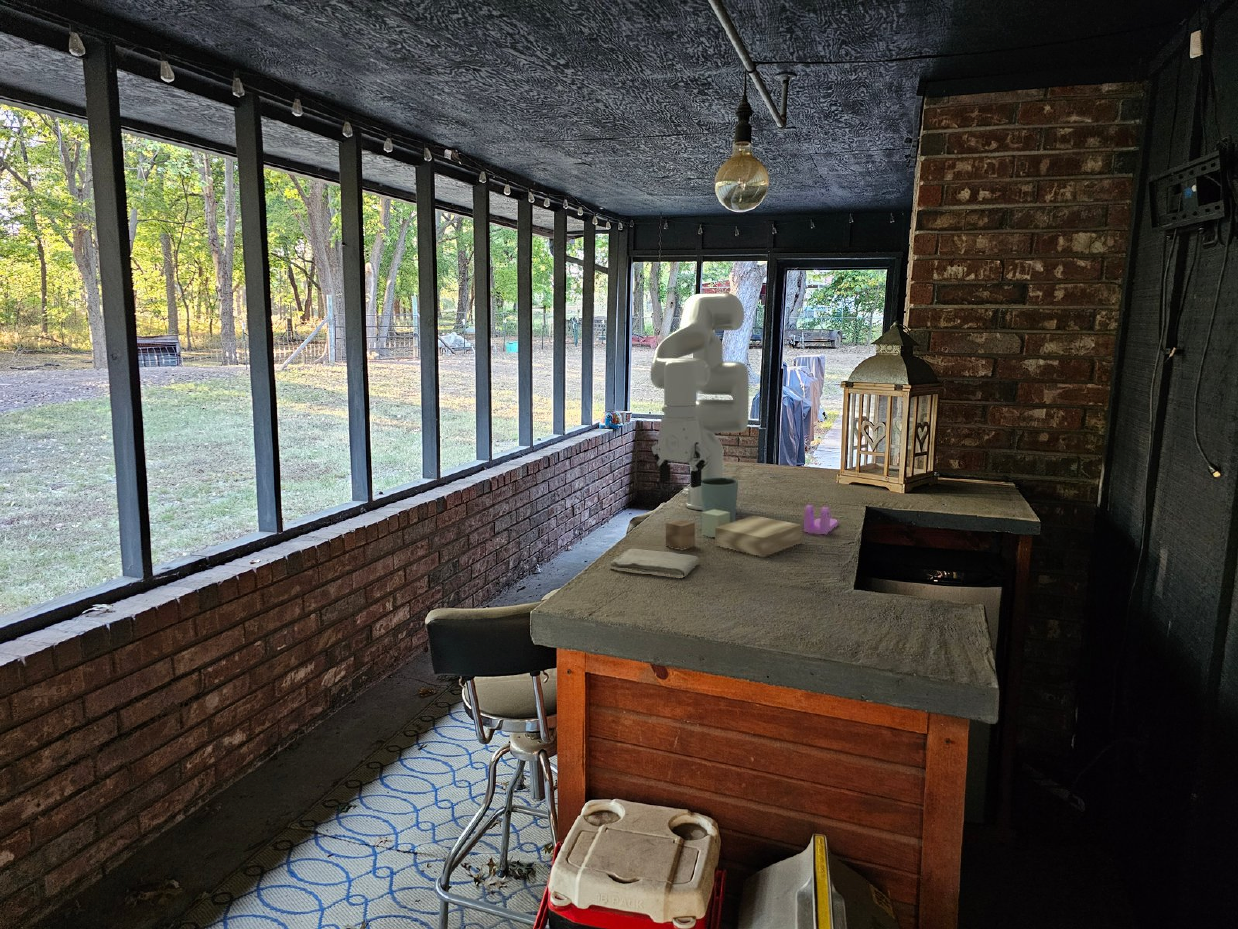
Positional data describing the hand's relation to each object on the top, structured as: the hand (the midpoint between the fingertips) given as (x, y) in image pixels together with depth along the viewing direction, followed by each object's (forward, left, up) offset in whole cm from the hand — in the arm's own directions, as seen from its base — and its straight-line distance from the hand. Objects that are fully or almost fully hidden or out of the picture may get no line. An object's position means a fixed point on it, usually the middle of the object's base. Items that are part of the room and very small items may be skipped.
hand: (680, 484), depth 185 cm
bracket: (+16, +38, -16) cm, 44 cm away
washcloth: (+6, -16, -16) cm, 24 cm away
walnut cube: (0, 0, -16) cm, 16 cm away
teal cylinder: (-6, +23, -16) cm, 29 cm away
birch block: (+13, +14, -16) cm, 25 cm away
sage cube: (0, +14, -16) cm, 21 cm away
